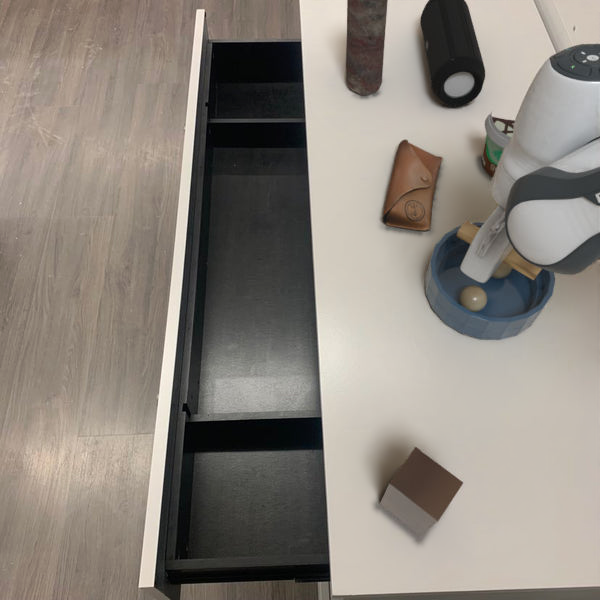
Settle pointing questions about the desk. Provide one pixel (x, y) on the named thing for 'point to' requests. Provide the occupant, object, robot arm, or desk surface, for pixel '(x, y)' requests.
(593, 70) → the robot arm
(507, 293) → the bowl
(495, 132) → the food container
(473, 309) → the ball
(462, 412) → the desk surface
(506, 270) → the ball
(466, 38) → the portable speaker
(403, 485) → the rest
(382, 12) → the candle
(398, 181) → the sunglasses case
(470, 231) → the tan wooden bar
